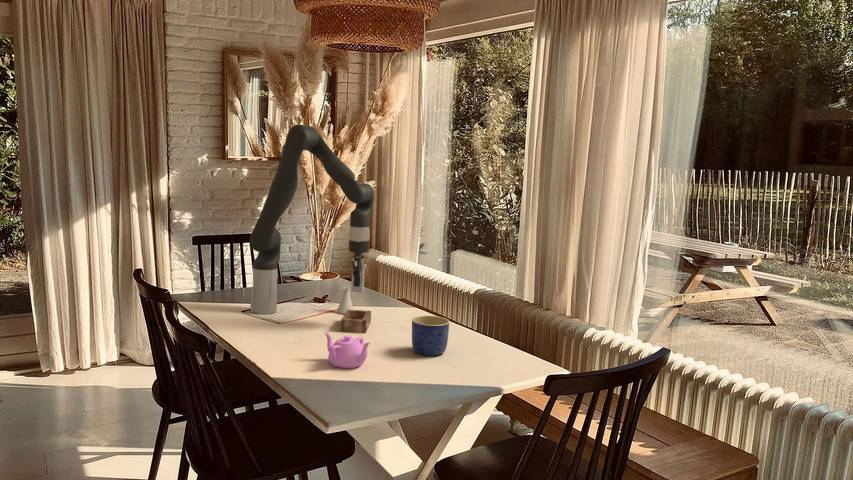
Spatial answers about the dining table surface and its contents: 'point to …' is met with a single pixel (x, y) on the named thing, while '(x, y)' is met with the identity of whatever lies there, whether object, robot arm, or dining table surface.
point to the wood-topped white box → (361, 287)
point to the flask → (345, 301)
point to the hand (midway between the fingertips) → (357, 284)
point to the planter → (430, 334)
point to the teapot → (346, 351)
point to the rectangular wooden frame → (356, 321)
